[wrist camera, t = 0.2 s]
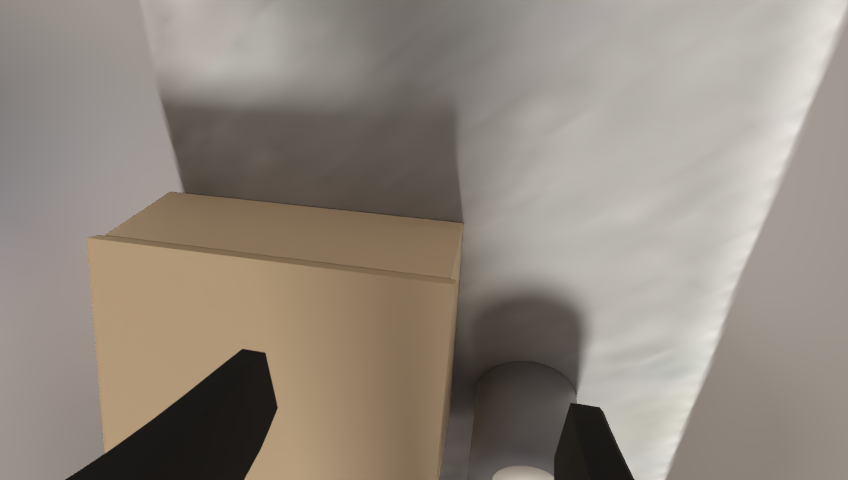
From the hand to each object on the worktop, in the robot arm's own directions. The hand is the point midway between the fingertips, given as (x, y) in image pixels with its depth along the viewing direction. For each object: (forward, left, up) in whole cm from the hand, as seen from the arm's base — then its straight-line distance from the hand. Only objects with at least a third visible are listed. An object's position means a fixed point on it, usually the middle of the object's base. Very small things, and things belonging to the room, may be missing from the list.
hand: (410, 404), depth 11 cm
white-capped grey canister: (-11, -4, -10) cm, 15 cm away
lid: (-7, +7, -4) cm, 10 cm away
